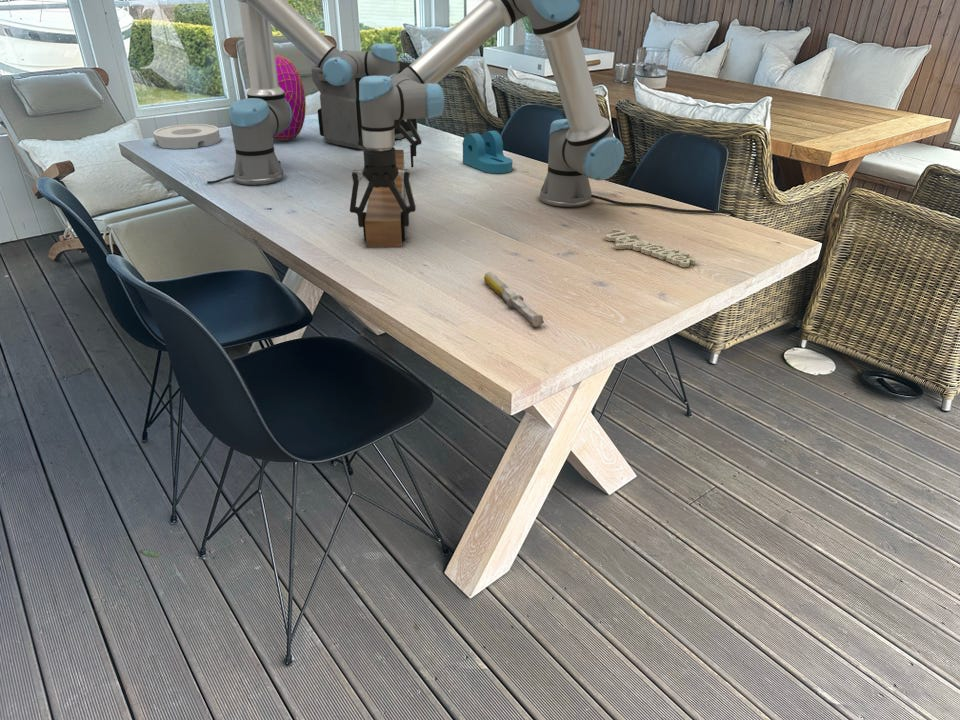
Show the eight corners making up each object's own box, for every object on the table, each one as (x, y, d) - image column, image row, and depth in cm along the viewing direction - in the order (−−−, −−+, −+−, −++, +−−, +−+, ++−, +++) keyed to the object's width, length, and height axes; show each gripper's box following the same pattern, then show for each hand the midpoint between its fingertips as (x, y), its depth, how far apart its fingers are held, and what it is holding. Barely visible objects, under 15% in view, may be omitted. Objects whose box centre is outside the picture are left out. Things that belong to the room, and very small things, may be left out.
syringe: (480, 279, 152) (480, 268, 151) (495, 277, 153) (495, 266, 152) (526, 330, 132) (527, 317, 131) (544, 326, 134) (545, 314, 132)
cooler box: (381, 126, 286) (376, 48, 271) (421, 134, 275) (419, 52, 260) (314, 143, 261) (305, 57, 245) (356, 151, 250) (349, 62, 234)
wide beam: (401, 246, 170) (400, 220, 166) (366, 247, 169) (364, 221, 166) (404, 169, 230) (403, 149, 227) (378, 170, 230) (377, 149, 226)
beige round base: (171, 134, 271) (168, 123, 269) (229, 135, 270) (227, 124, 268) (144, 148, 251) (141, 136, 249) (207, 149, 251) (205, 138, 249)
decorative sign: (591, 236, 174) (616, 227, 180) (591, 240, 174) (616, 231, 180) (679, 267, 157) (703, 256, 163) (678, 271, 158) (703, 260, 163)
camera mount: (462, 163, 238) (462, 131, 233) (487, 158, 243) (487, 128, 238) (493, 175, 225) (494, 142, 220) (518, 170, 230) (519, 138, 225)
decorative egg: (293, 132, 276) (283, 50, 261) (319, 140, 264) (310, 56, 249) (249, 139, 265) (236, 54, 250) (273, 148, 253) (261, 60, 238)
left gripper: (427, 95, 218) (429, 163, 229) (347, 96, 216) (353, 164, 227) (427, 100, 212) (429, 168, 223) (345, 101, 210) (352, 170, 221)
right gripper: (424, 143, 166) (427, 232, 177) (334, 143, 164) (343, 234, 175) (425, 150, 159) (427, 243, 171) (331, 151, 157) (340, 244, 169)
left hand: (391, 166), depth 225 cm, fingers open, 13 cm apart
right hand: (384, 238), depth 173 cm, fingers closed on wide beam, 9 cm apart
